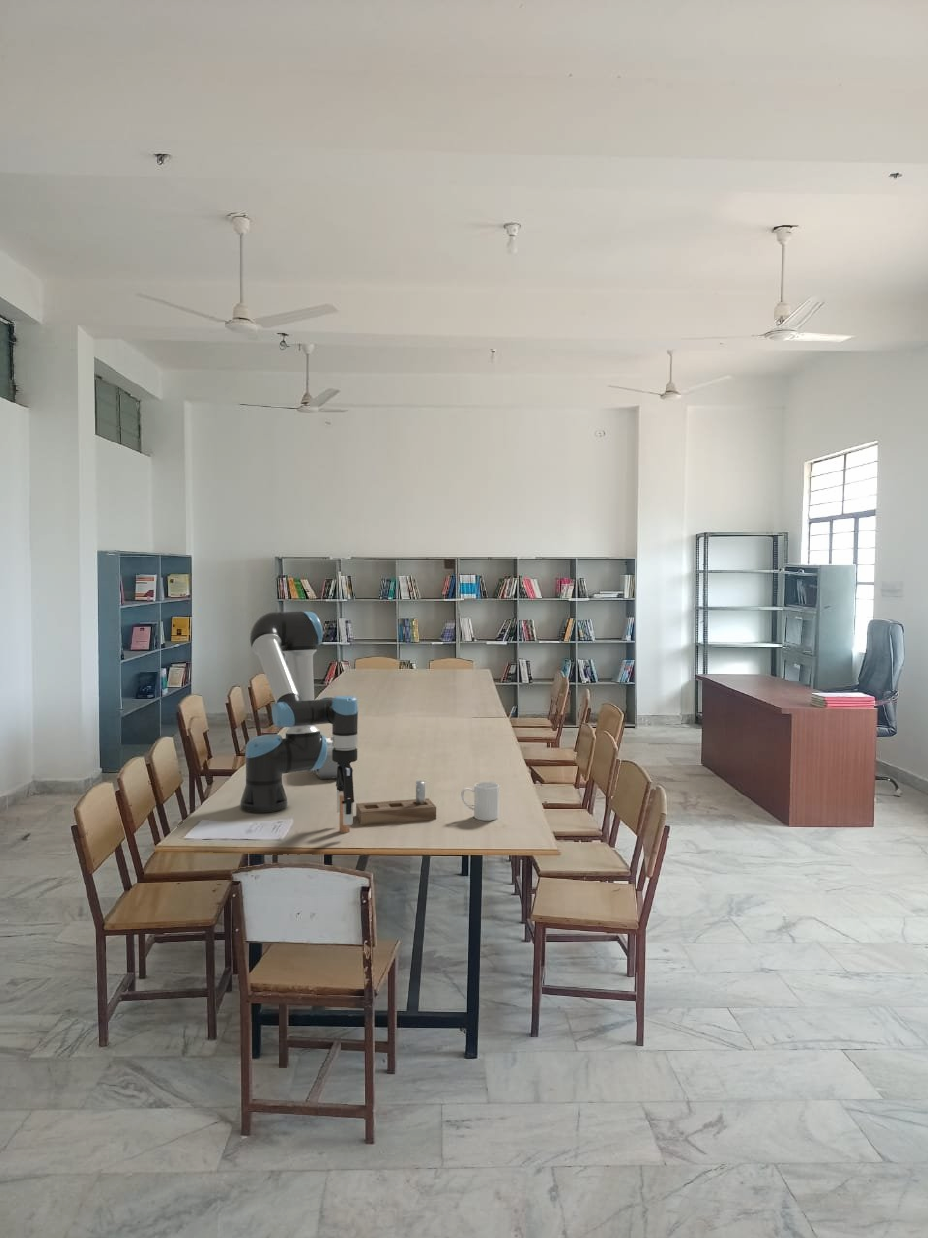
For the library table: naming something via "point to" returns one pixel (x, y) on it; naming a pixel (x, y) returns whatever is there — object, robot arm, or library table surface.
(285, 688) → the robot arm
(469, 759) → the library table surface
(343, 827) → the orange rounded rod
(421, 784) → the grey peg
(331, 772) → the alarm clock
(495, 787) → the mug
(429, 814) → the hole block
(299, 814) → the library table surface
